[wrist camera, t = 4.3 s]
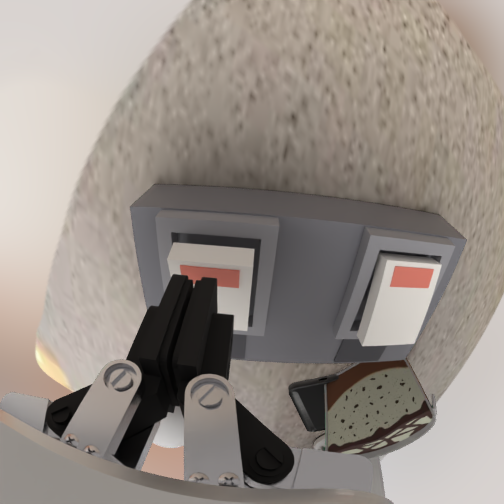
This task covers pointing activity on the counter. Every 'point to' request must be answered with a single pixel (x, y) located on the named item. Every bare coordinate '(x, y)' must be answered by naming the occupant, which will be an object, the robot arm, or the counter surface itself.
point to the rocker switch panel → (294, 262)
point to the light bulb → (171, 430)
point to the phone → (311, 401)
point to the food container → (376, 409)
